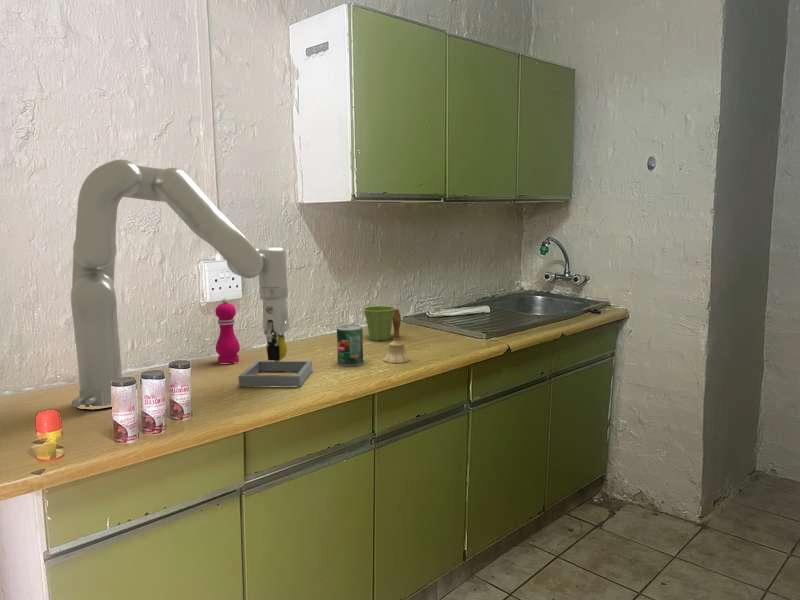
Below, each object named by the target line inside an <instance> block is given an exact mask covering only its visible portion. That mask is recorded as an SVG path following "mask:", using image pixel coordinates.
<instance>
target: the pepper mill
mask: <svg viewBox="0 0 800 600" xmlns="http://www.w3.org/2000/svg"><path fill="white" fill-rule="evenodd" d="M221 302H222V303H220V304H218V305H217V306H216V308H215V315H216V317H217V318H218V319H217V325H219V329H220V330H219V336H218V339H217V341H216V343H215V352H216V353H217V354H218V355H219V356H218V357H217V362H219V363H233V362H237V361H239V362H240V356H239V355H238V353H239V352H240V350H241V346H240V342H239V340H238V339H237V336H236V334H235V331H234V324H236V321H235V316H236V314H237V309H236V307H235V305H234V304H231V303H229V299H228V298H226V297H224V298H223V299H222V301H221ZM219 363H218V364H219ZM237 363H238V362H237Z"/></svg>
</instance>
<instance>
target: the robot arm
mask: <svg viewBox="0 0 800 600" xmlns="http://www.w3.org/2000/svg"><path fill="white" fill-rule="evenodd" d="M123 198H129V199H138V200H144V201H145V200H146V201H151V202H164V203H166V204H167V205H168V206H169V208H171V210H173V212H174V213H175V214H176V215H177V216H178V217H179V218H180V219H181V220H182V221H183V222H184V224H185V225H187V227H188V228H189V230H191V231H192V232H193V233H194V234H195V235H196V236H197V237H199V238H200V239H202V240H203V241H204V242H206V243H208V244H209V245H210V246H211V247H212V248H213V249H215V251H217V253H218V254H220V255H221V256H222V257H223V259H225V261H226V265H227V268H228V269H229V270H230V271H231V273H232V274H235V275H237V276H239V277H240V278H243V279H254V278H256V277H257V276H258V289H259V299H260V300H262V325H263V326H262V327H263V333H264V335H265V338H266V346H267V350H266V353H267V352H268V354H267V361H274V360H280V350H279V346H278V336H281V337H282V338H283V339H284V340H285V341H286V337H285V333H286V332H287V331H288V330H289V329H290V324H289V323H290V321H289V310H288V302H287V299H288V298H289V296H288V295H289V294H288V292H289V291H288V290H289V289H288V273H287V256H286V255H287V254H286V250H285V248H283V247H280V246H279V247H278V246H270V247H269V246H268V247H262V248H255V247H254V245H253V244H252V243H251V242H250V241H249V240H248V238H246V236H245V235H244V234H243V233H242V232H241V231H240V230H239V229H238V228H237V227H236V226H235V225H234V224H233V223H232V222H231V221H230V220H229V219H228V218H227V217H226V216H225V215H224V214H223V213H222V212H221V211H220V210H219V209H218V208H217V206H216V205H215V204H214V203H213V202H212V201H211V200H210V199H209V198H208V197H207V195H206V194H205V193H204V191H202V189H200V187H199V186H198V185H197V184H196V183H195V181H193V179H192V178H190V175H188V174H187V173H186V172H185V171H183V170H182V169H180V168H178V167H168V168H159V167H158V168H156V167H149V166H143V165H136V164H135V163H134V162H132V161H130V160H127V159H114V160H111V161H109V162H105V163H104V164H102V165H100V166H98V167H96V168H95V169H94V170H92V171H91V172H90V173H89V175H87V177H86V178H85V180H84V181H83V182H82V185H81V187H80V190H79V193H78V198H77V199H78V200H77V208H76V221H75V222H76V223H75V224H76V225H75V238H74V242H73V247H72V248H73V249H72V251H73V252H72V253H73V254H72V280H71V281H72V286H71V292H70V306H71V313H72V322H73V329H74V330H73V333H74V342H75V349H76V350H75V351H76V361H77V371H78V380H79V389H80V390H79V393H78V394H79V396H78V397H76V398H74V399H73V400H72V401H71V405H72V407H74V408H75V407H79V406H80V405H85V407H90V406H89V405H92V406H107V405H111V381H112V380H114V379H117V378H122V379H123V369H122V358H121V357H122V356H121V347H120V337H119V326H118V325H119V324H118V307H117V306H118V305H117V304H118V303H117V302H118V301H117V295H116V294H117V293H116V290H115V269H116V268H115V266H116V256H117V251H118V250H117V242H116V239H117V238H116V237H117V236H116V235H117V234H116V232H117V231H116V230H117V221H118V220H117V219H118V207H119V204H120V201H121V200H122V199H123ZM272 337H275V339H274V338H272ZM280 361H281V360H280Z"/></svg>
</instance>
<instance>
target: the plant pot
mask: <svg viewBox="0 0 800 600" xmlns="http://www.w3.org/2000/svg"><path fill="white" fill-rule="evenodd" d="M395 309H397V308H396V307H395V306H391V305H372V306H365V307H363V308H362V311H363V313H364V317H365V320H366V325H367V331H368V337H369V339H370V340H371V341H375V342H378V341H384V340H385V341H388V340H390V338H391V333H392V327H393V320H392V319H393V314H394V311H395Z"/></svg>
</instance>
